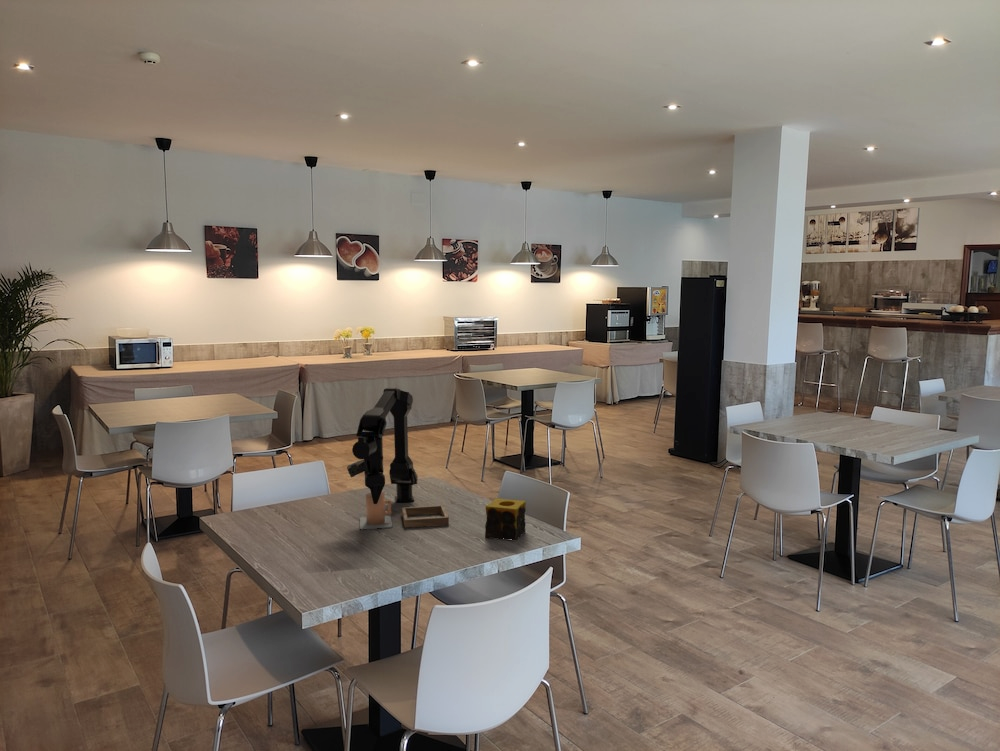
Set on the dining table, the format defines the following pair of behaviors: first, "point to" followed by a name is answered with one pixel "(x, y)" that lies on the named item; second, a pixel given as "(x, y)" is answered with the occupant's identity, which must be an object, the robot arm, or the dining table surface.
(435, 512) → the wooden picture frame
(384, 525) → the pad
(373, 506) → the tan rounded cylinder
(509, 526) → the candle
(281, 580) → the dining table surface
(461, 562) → the dining table surface
